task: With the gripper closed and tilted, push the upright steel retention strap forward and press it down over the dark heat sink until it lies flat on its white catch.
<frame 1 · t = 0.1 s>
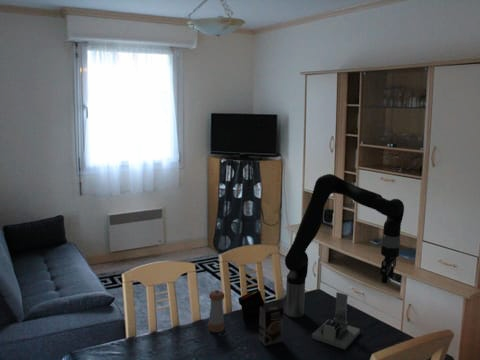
hand: (387, 279, 210), 29 cm above the table, tool pointing down, fingers open, 8 cm apart
pepper shaker: (216, 329, 223), on the table
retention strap: (341, 306, 220), point 13 cm above the table, hinge at 0.0°
grey square stand: (336, 335, 219), on the table
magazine: (251, 319, 233), on the table
coffee box: (270, 341, 214), on the table
heat sink: (334, 337, 217), resting on grey square stand
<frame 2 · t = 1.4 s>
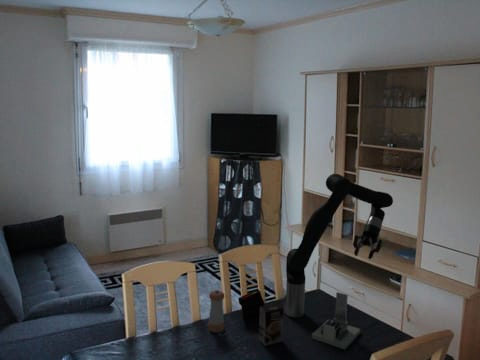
hand: (362, 256, 230), 32 cm above the table, tool tilted 45°, fingers open, 6 cm apart
nothing on the table moved.
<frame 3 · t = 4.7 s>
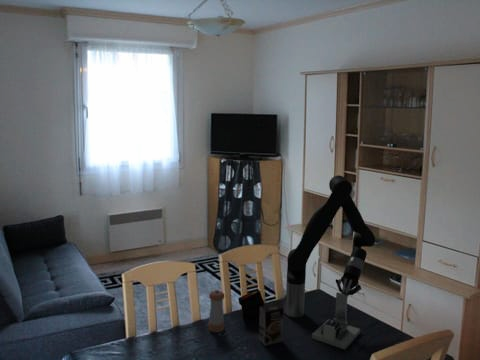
hand: (342, 301, 220), 15 cm above the table, tool tilted 45°, fingers closed
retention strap: (341, 306, 220), point 13 cm above the table, hinge at 0.3°, touching gripper
everything else where it was.
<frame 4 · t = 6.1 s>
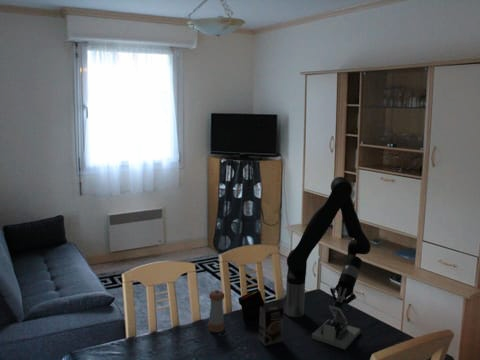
hand: (337, 310, 216), 13 cm above the table, tool tilted 45°, fingers closed
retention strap: (337, 313, 217), point 11 cm above the table, hinge at 45.2°, touching gripper
everything else where it was.
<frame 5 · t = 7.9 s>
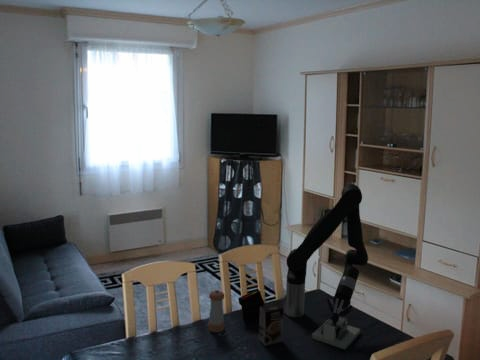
hand: (334, 322, 214), 8 cm above the table, tool tilted 45°, fingers closed
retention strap: (335, 322, 216), point 7 cm above the table, hinge at 90.1°, touching grey square stand, gripper
everything else where it was.
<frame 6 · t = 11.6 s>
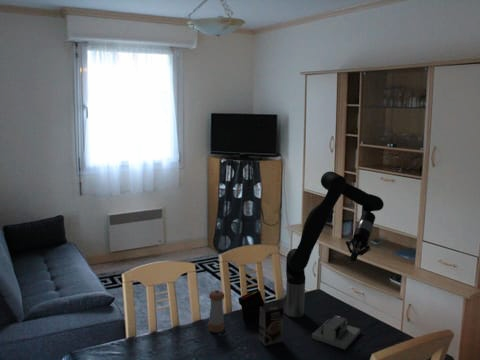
hand: (352, 261, 231), 30 cm above the table, tool tilted 45°, fingers closed
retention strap: (335, 322, 216), point 7 cm above the table, hinge at 90.1°, touching grey square stand
everything else where it was.
at the end: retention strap at +90° (first picture: +0°) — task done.
